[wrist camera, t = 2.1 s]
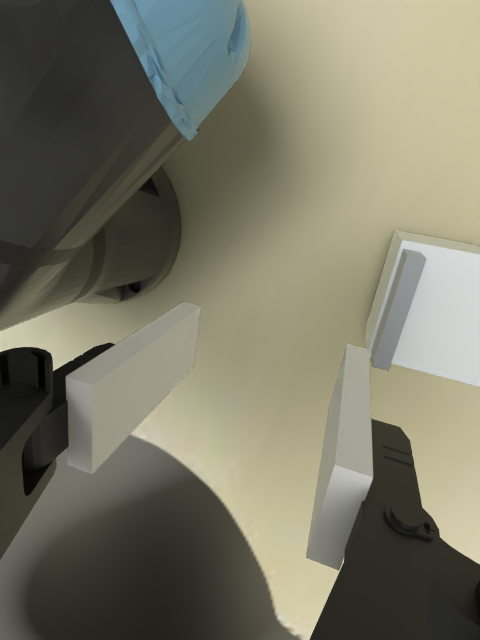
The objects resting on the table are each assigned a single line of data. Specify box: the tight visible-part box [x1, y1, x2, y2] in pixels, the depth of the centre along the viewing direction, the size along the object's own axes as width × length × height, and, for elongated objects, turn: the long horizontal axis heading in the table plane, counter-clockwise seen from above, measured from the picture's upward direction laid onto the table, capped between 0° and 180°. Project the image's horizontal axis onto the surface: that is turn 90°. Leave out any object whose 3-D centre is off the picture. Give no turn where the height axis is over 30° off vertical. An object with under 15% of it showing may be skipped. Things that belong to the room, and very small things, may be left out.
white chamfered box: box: [366, 230, 480, 387], centre depth 25 cm, size 10×8×9 cm
